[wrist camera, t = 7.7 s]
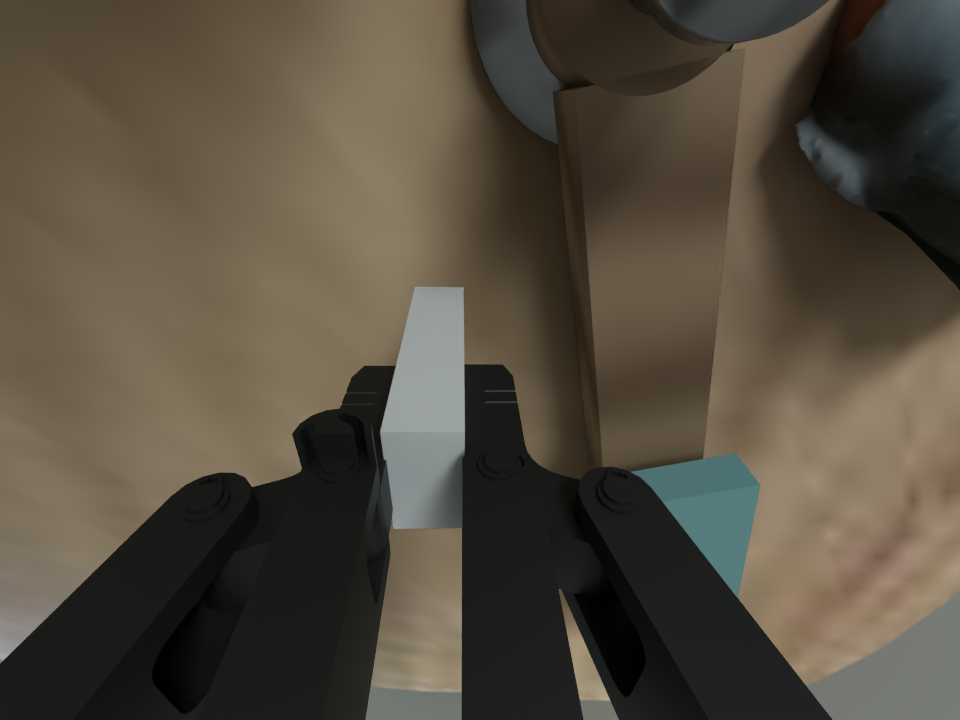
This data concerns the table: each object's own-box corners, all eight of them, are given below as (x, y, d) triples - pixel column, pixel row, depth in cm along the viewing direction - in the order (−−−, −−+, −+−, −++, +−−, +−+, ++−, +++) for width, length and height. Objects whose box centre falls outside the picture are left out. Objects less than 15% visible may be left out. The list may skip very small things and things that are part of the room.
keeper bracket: (570, 397, 20) (611, 510, 15) (676, 377, 20) (760, 485, 14) (592, 565, 27) (624, 682, 22) (669, 552, 27) (723, 669, 21)
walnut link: (511, -115, 10) (527, -184, 8) (718, -173, 10) (805, -267, 7) (584, 514, 23) (599, 566, 21) (676, 500, 23) (703, 550, 20)
